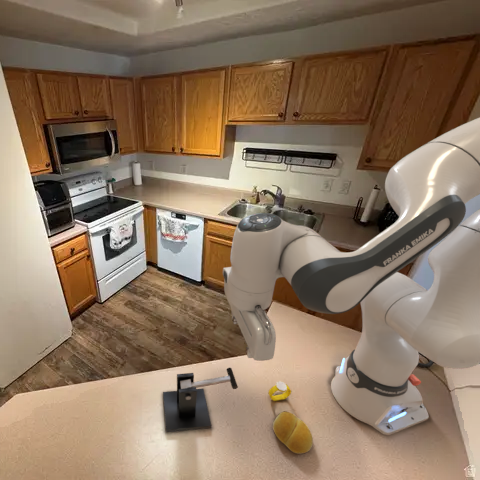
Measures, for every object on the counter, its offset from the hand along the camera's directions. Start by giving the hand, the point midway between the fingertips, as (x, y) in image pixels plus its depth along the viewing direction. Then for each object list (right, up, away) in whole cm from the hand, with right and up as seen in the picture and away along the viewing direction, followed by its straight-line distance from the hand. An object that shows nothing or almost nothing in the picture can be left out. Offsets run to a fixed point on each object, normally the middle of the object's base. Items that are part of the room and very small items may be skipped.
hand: (242, 337), depth 59 cm
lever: (-6, -16, +8) cm, 19 cm away
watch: (+15, -23, +15) cm, 32 cm away
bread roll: (+15, -28, +7) cm, 32 cm away
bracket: (-12, -25, +13) cm, 31 cm away
